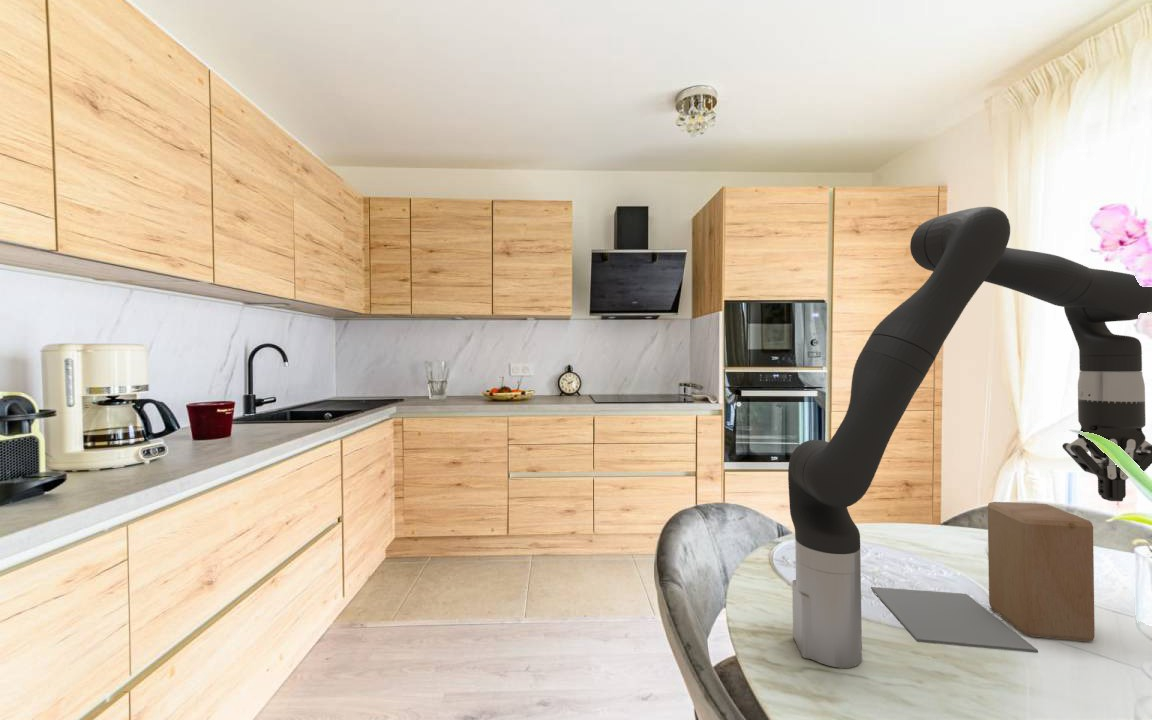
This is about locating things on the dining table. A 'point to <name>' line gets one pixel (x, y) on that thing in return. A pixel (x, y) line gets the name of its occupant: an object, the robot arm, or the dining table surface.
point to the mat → (950, 619)
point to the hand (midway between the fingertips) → (1112, 500)
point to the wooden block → (1041, 570)
